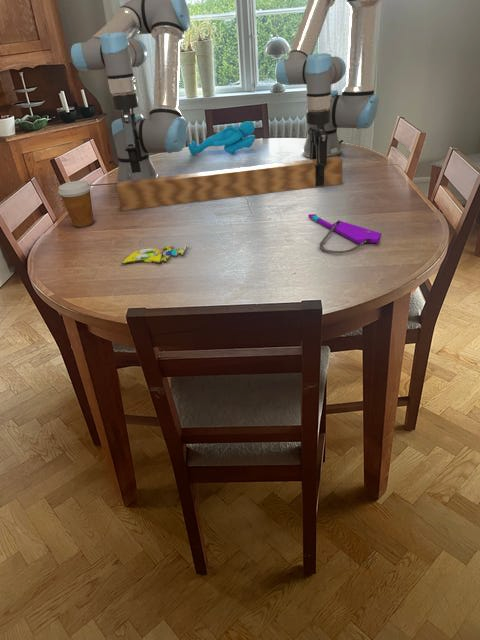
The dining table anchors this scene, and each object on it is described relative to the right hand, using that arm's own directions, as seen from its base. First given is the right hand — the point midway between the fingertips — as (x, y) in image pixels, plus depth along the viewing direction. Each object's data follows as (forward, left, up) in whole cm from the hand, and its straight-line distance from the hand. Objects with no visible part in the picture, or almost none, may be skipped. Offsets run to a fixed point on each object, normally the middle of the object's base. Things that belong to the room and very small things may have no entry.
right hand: (317, 183), depth 164 cm
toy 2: (-47, -43, -1) cm, 64 cm away
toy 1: (+56, -40, -1) cm, 69 cm away
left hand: (+18, -56, +12) cm, 60 cm away
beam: (+9, -28, -1) cm, 29 cm away
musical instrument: (+44, +6, -1) cm, 45 cm away
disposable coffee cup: (+33, -71, -1) cm, 78 cm away
